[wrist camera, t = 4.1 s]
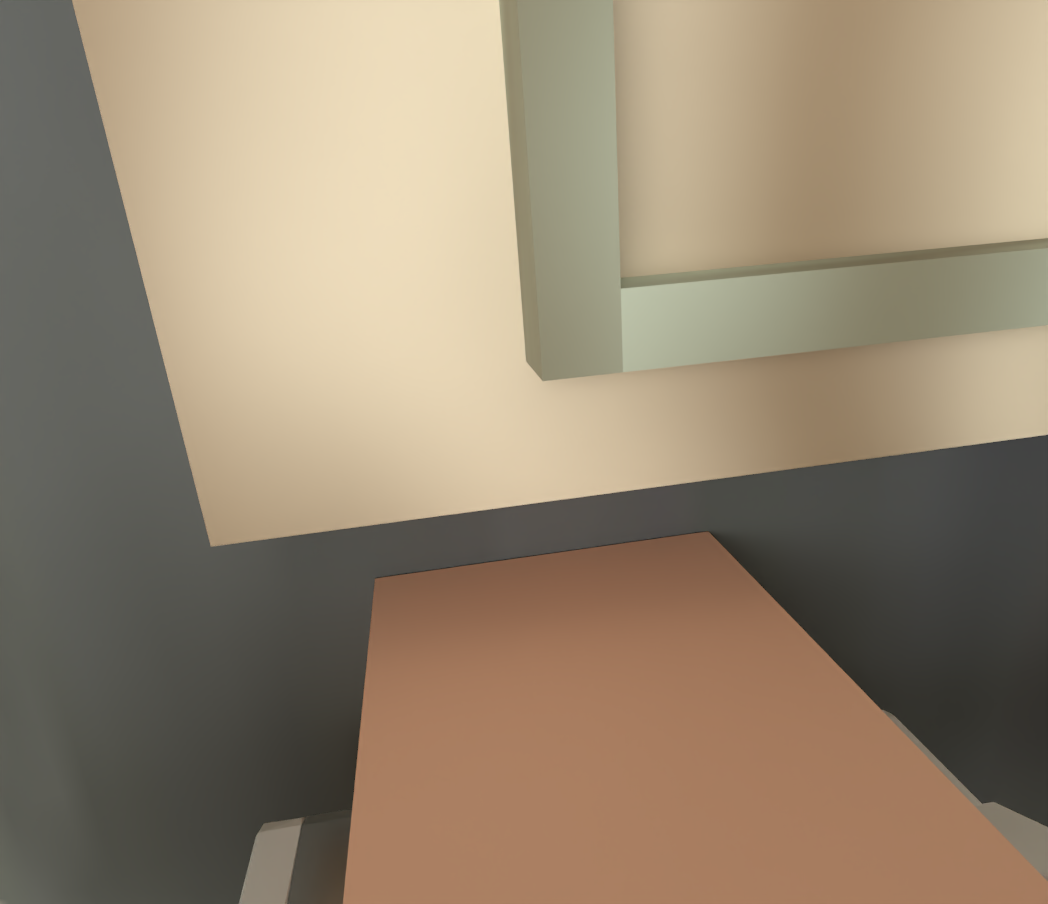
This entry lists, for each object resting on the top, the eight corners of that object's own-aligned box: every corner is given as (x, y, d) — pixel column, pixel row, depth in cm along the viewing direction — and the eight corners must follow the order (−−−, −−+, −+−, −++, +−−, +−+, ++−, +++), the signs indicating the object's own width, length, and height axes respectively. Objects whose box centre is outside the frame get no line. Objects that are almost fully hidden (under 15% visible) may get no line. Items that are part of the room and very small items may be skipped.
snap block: (708, 530, 10) (1066, 901, 5) (703, 787, 12) (965, 1289, 6) (374, 578, 10) (326, 1070, 4) (418, 842, 11) (427, 1449, 6)
